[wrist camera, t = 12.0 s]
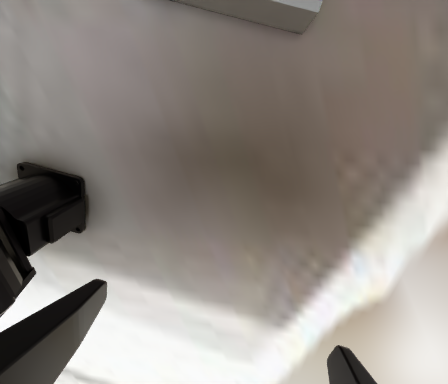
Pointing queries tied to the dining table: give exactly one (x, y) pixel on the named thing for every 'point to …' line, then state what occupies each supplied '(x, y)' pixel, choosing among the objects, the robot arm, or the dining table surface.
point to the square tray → (265, 11)
